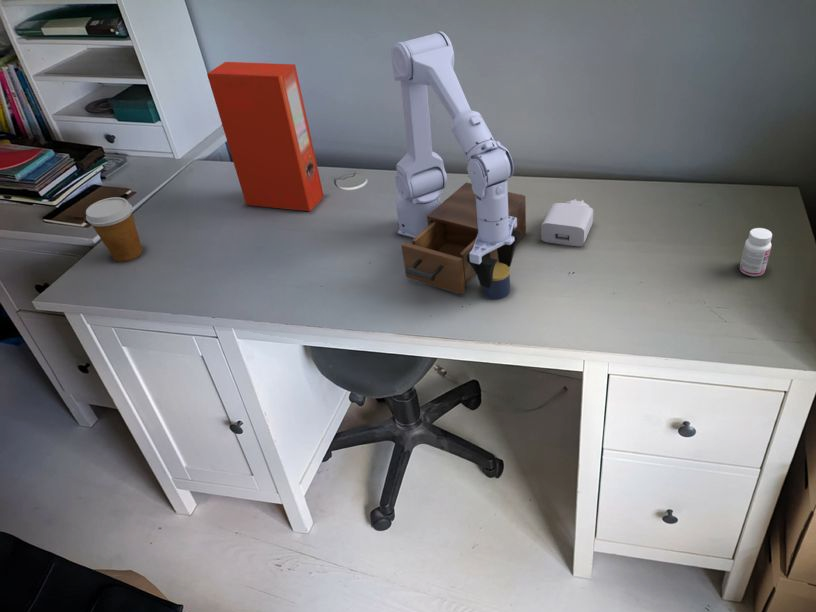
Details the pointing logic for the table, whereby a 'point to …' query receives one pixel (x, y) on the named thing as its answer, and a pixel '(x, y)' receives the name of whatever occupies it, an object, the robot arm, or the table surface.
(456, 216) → the cabinet
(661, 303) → the table surface
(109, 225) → the disposable coffee cup
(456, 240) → the drawer
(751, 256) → the pill bottle
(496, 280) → the tin
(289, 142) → the file binder
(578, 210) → the charger
